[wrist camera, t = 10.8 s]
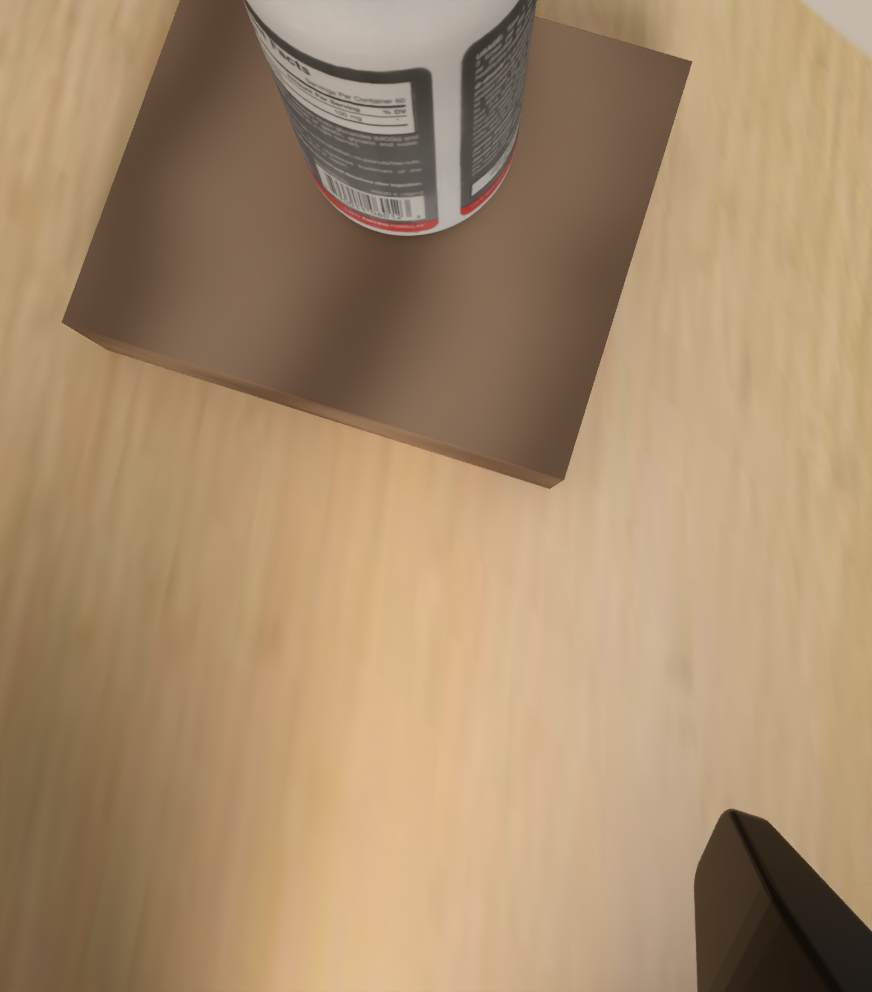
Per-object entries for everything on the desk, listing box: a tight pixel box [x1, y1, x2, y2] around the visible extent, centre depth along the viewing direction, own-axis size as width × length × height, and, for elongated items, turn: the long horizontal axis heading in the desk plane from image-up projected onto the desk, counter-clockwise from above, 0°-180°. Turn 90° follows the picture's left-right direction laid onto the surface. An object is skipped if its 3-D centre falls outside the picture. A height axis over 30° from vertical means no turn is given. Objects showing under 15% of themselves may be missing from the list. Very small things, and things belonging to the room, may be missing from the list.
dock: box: [62, 0, 692, 489], centre depth 20 cm, size 14×12×2 cm
